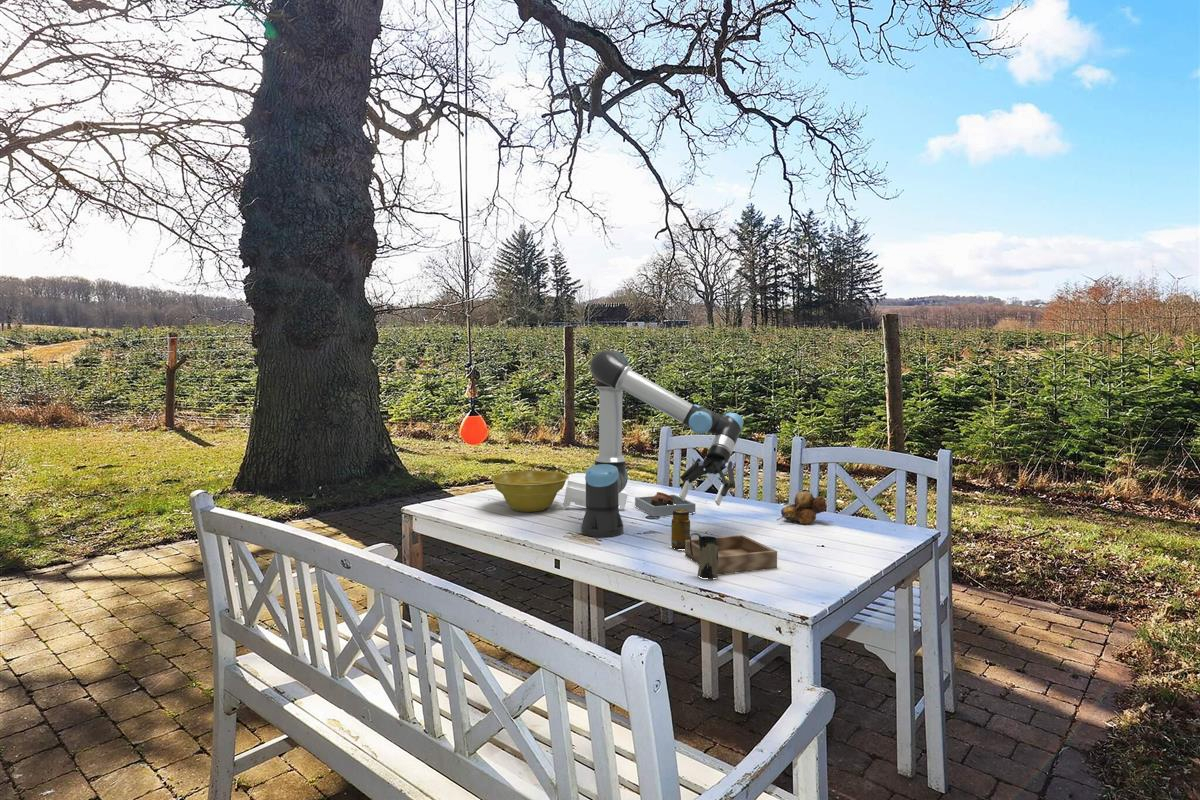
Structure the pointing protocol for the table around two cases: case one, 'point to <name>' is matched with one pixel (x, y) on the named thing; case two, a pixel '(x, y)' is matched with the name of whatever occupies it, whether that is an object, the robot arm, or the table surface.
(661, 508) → the slate tray rim
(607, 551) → the table surface
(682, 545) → the condiment
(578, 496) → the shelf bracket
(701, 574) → the mug
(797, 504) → the seed pod
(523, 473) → the planter bowl
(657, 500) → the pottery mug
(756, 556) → the walnut box
